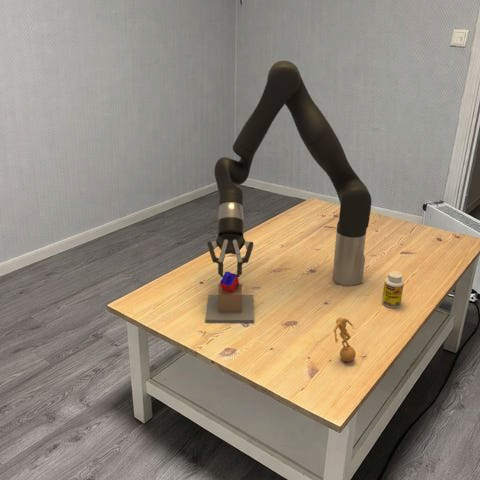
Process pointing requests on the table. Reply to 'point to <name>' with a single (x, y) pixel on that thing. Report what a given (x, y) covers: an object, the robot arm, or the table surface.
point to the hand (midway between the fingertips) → (230, 276)
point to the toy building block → (229, 282)
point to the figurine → (347, 351)
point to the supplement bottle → (393, 290)
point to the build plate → (230, 316)
